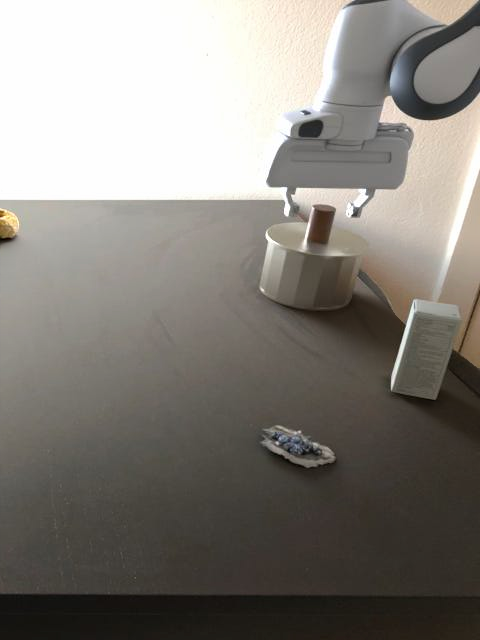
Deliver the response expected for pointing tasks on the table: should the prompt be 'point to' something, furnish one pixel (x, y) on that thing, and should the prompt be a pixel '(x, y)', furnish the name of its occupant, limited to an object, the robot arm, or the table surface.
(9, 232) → the bagel
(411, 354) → the box
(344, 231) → the lid
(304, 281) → the pot
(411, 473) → the table surface
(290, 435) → the blueberries
